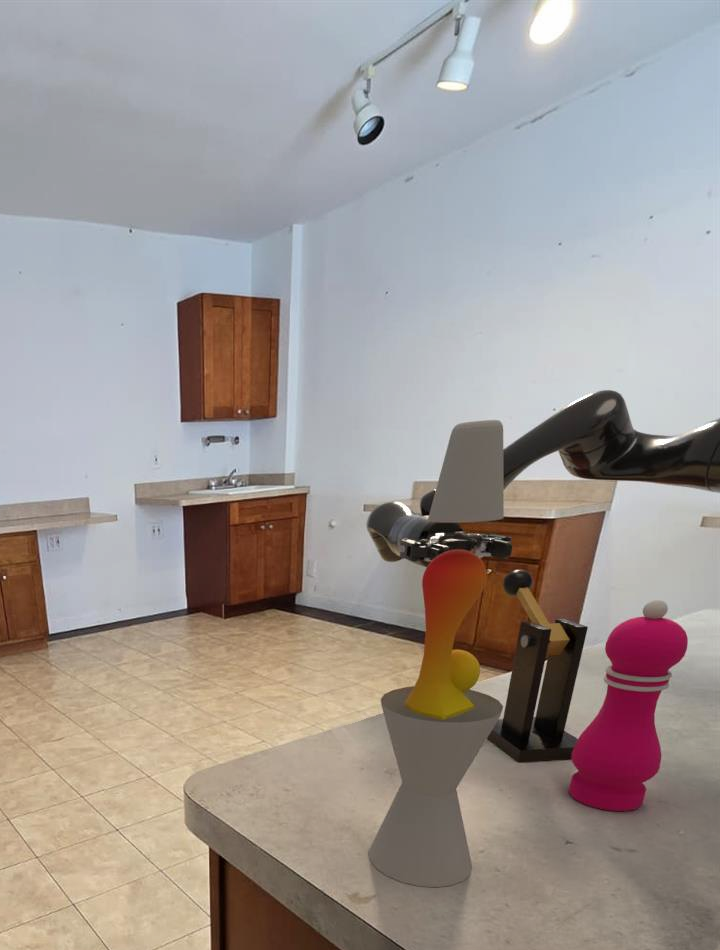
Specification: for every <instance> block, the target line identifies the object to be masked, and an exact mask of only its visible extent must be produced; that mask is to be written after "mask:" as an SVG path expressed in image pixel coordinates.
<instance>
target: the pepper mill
mask: <svg viewBox="0 0 720 950" xmlns="http://www.w3.org/2000/svg"><path fill="white" fill-rule="evenodd" d="M668 610H669V607H668V604H667V603H666V602H665V601H663V600H662V599H653V600H650V601H648V602H647V603H645V604H644V606H643V608H642V615H643V616H637V617H633V618H629V619H626V620H624V621H623V622H621V623H619V624H618V625H616V626H615V627H614V628H613V630H612V631H611V632H610V634H609V635H608V637H607V639H606V641H605V647H604V648H605V654H606V656H607V658H608V660H609V661H610V662H611V665H609V666H607V667H606V668H605V672H606V673H605V676H604V677H603V682H604V683H605V684H606V685H607V687H606V694H605V697H604V700H603V703H602V706H601V708H600V709H599V711H598V713H597V715H596V716H595V717H594V718H593V719H592V721H591V722H590V723H589V724H588V725H587V727H586V728H585V729H584V730H583V731H582V732H581V734H580V735H579V736H578V738H577V739H578V740H577V742H576V743H575V746H574V749H573V752H572V759H571V762H572V764H573V766H574V767H575V768H576V770H577V772H575V773H573V774H572V775H571V778H570V784H569V787H568V793H569V794H570V796H571V797H572V798H573V799H574V800H576V801H578V802H580V803H581V804H583V805H585V806H589V807H592V808H595V809H599V810H606V811H614V812H628V811H633V810H636V809H639V808H640V807H641V806H642V805H643V802H644V799H645V797H646V793H647V787H646V785H645V784H644V783H645V782H647V781H650V780H651V779H652V778H654V777H655V776H656V775H657V774H658V773H659V770H660V769H661V763H662V748H661V743H660V739H659V736H658V732H657V729H656V724H655V722H656V719H655V715H656V709H657V704H658V700H659V698H660V696H661V693H662V691H664V690H667V689H668V688H669V687H670V680H671V678H672V677H673V674H672V672H671V671H670V669H671V668H673V667H674V666H676V665H677V664H678V663H680V662H681V661H682V659H683V658H684V657H685V655H686V653H687V651H688V644H689V638H688V635H687V632H686V630H685V629H684V627H683V626H682V625H680V624H679V623H678V622H676V621H674V620H673V619H669V618H666V617H664V616H666V615H667V613H668Z"/></svg>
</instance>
